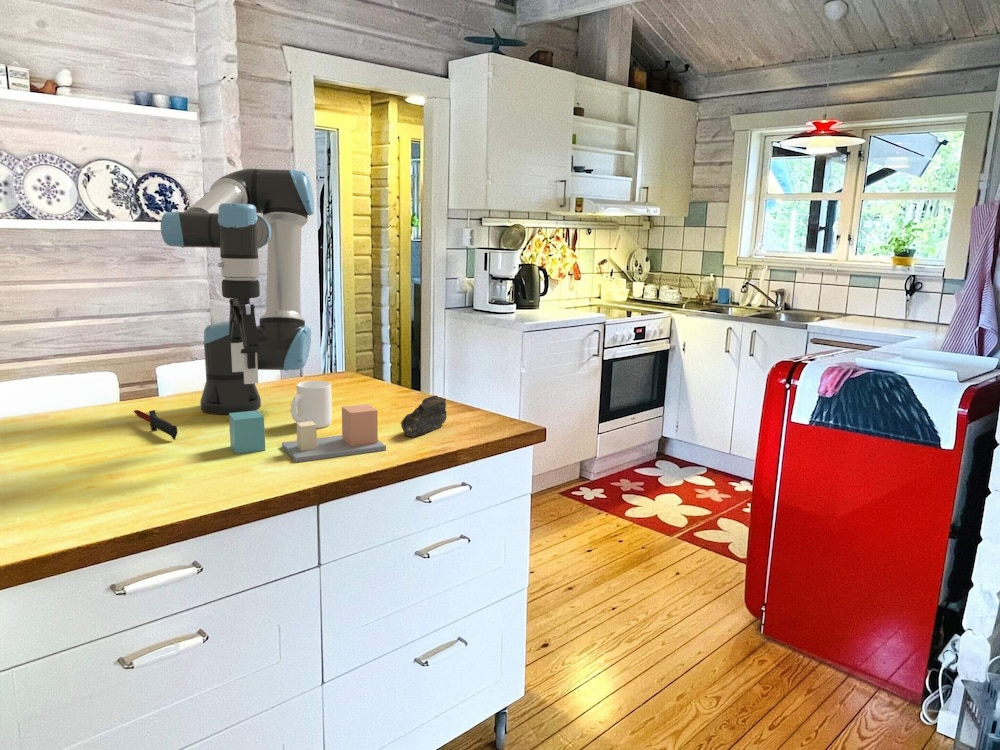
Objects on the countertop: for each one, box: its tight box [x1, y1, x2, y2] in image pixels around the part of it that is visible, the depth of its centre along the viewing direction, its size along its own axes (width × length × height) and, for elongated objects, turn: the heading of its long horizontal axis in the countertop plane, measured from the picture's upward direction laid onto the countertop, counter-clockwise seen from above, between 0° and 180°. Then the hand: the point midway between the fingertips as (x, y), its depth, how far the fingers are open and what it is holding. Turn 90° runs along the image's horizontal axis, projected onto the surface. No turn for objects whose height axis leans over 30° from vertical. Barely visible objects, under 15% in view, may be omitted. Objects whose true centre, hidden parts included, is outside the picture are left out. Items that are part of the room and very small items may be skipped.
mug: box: [290, 380, 333, 429], centre depth 175 cm, size 12×8×10 cm
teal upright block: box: [228, 409, 266, 455], centre depth 157 cm, size 6×6×8 cm
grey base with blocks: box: [281, 403, 387, 463], centre depth 158 cm, size 12×20×9 cm, turn 120°
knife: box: [133, 409, 178, 441], centre depth 168 cm, size 24×2×5 cm, turn 47°
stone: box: [400, 395, 448, 438], centre depth 174 cm, size 7×8×15 cm
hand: (244, 377), depth 154 cm, fingers open, 13 cm apart
